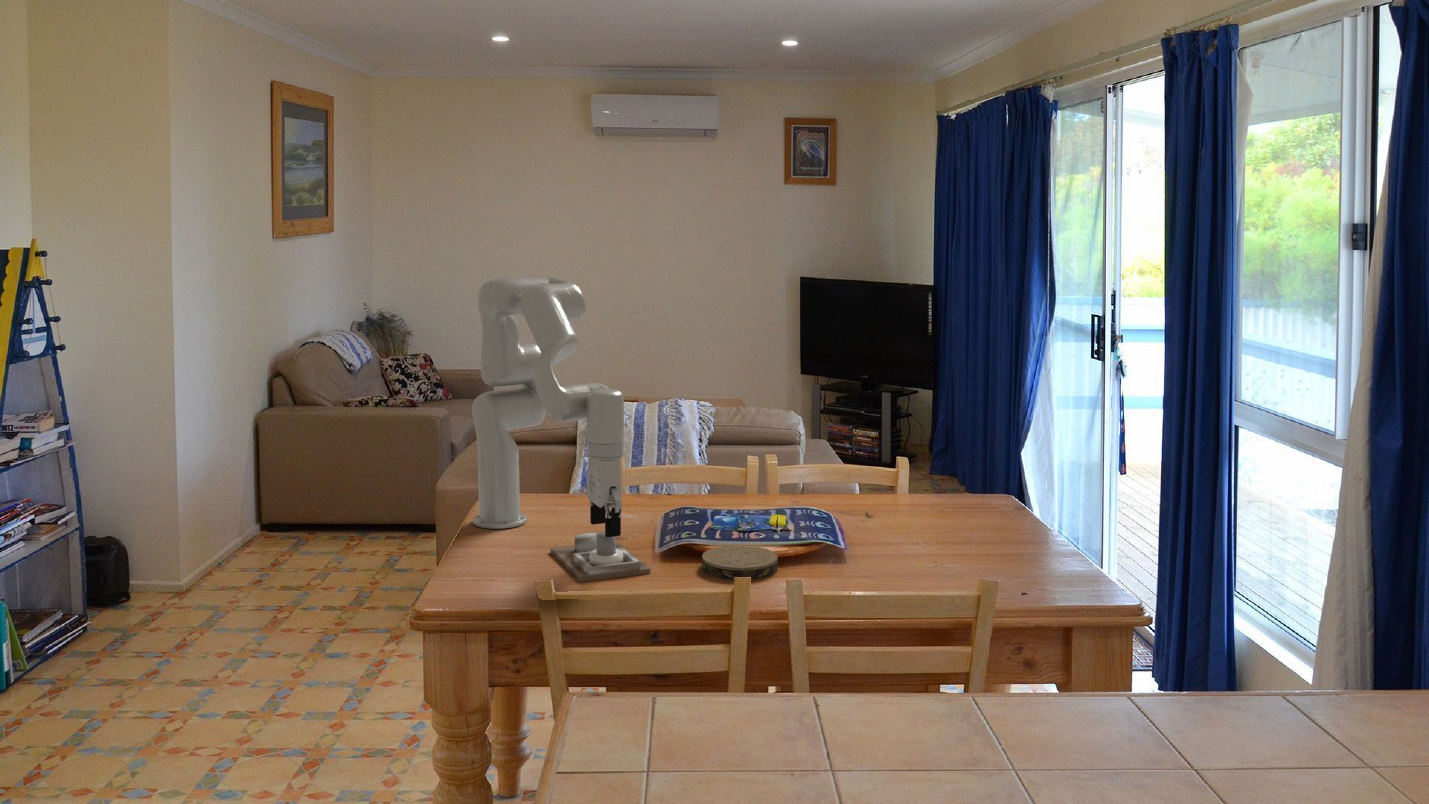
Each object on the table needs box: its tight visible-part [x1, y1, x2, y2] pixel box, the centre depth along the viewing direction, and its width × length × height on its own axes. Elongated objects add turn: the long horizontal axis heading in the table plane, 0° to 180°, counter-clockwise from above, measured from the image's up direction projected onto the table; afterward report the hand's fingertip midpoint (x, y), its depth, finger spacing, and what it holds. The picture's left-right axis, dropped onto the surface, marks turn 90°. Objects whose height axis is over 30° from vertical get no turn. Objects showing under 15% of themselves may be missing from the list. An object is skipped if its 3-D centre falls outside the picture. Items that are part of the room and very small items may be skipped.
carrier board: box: [550, 532, 651, 583], centre depth 255 cm, size 22×15×4 cm
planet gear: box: [589, 531, 623, 566], centre depth 250 cm, size 7×7×6 cm
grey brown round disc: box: [701, 545, 779, 581], centre depth 252 cm, size 16×16×3 cm
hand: (605, 529), depth 250 cm, fingers open, 9 cm apart
